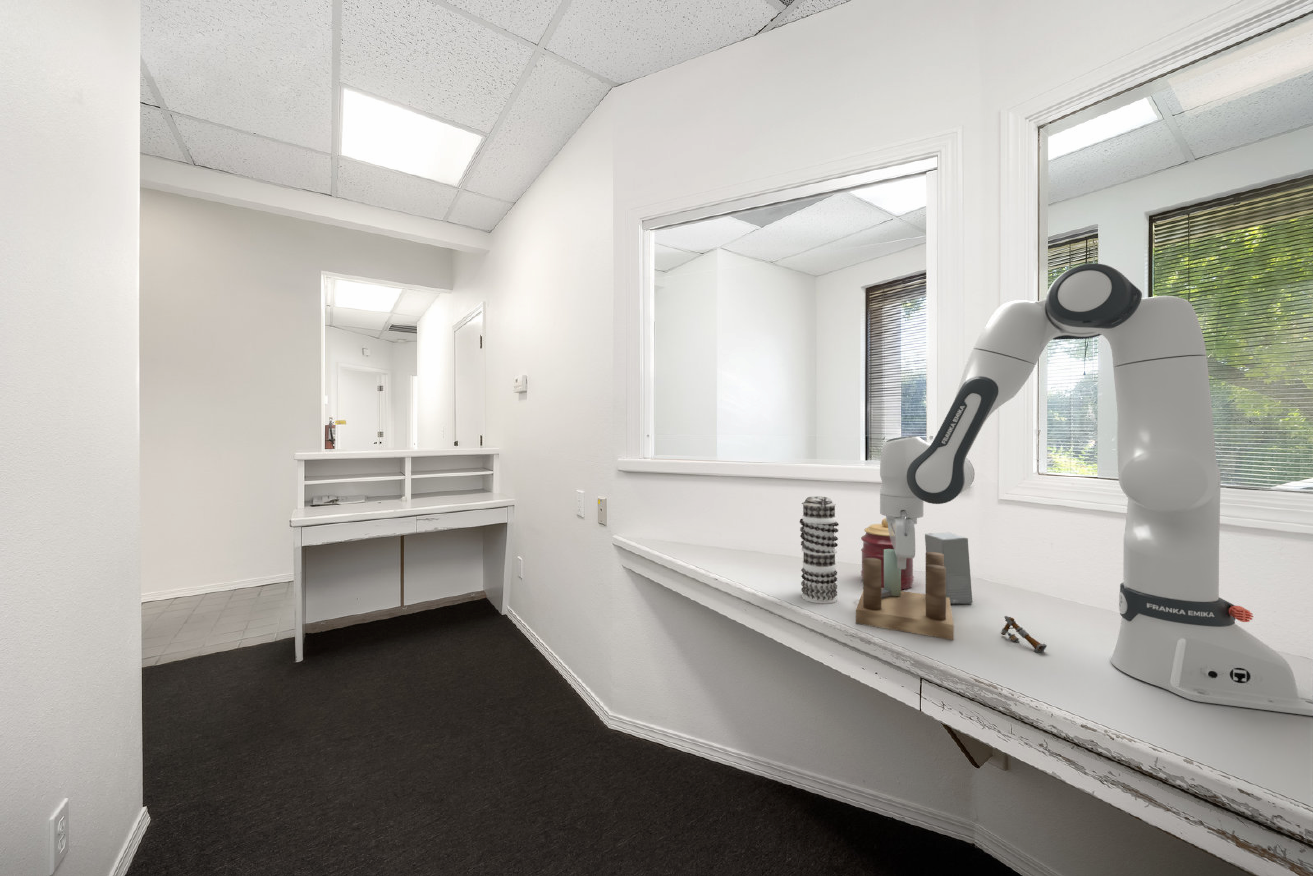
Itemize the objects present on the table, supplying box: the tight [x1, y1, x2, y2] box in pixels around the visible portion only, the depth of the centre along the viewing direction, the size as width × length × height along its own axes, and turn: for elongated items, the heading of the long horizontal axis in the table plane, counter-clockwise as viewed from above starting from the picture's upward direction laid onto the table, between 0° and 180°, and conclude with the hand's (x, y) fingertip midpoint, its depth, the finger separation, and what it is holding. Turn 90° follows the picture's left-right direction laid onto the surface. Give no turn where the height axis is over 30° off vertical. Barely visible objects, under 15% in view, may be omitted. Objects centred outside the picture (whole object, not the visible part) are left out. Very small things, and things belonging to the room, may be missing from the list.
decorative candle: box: [799, 496, 839, 605], centre depth 121 cm, size 9×9×25 cm
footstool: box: [855, 551, 955, 641], centre depth 108 cm, size 18×18×13 cm
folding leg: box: [881, 549, 902, 598], centre depth 112 cm, size 9×4×10 cm, turn 117°
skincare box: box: [924, 532, 973, 605], centre depth 119 cm, size 8×7×16 cm
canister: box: [860, 517, 915, 590], centre depth 132 cm, size 13×13×18 cm
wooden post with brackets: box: [1000, 615, 1048, 653], centre depth 94 cm, size 2×8×4 cm, turn 14°
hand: (901, 568), depth 110 cm, fingers closed
